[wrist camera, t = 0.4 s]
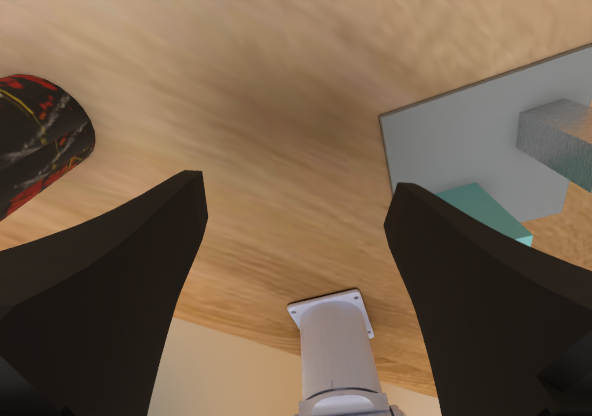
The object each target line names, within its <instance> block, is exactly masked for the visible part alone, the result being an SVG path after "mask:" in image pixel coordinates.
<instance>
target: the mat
mask: <svg viewBox="0 0 592 416" xmlns="http://www.w3.org/2000/svg"><path fill="white" fill-rule="evenodd" d="M564 98H565V99H568V100H571V101H574V102H577V103H580V104H583V105H586V106H590V103H591V99H592V43H591V44H588V45H585V46H582V47H580V48H577V49H574V50H571V51H568V52H565V53H562V54H559V55H556V56H553V57H550V58H547V59H544V60H541V61H538V62H535V63H533V64H530V65H527V66H524V67H521V68H518V69H515V70H512V71H509V72H506V73H503V74H500V75H497V76H494V77H491V78H489V79H486V80H483V81H480V82H477V83H474V84H471V85H468V86H465V87H462V88H459V89H456V90H453V91H450V92H447V93H445V94H442V95H439V96H436V97H433V98H430V99H427V100H424V101H421V102H418V103H415V104H412V105H409V106H406V107H403V108H400V109H398V110H395V111H392V112H389V113H386V114H383V115H380V116H379V119H380V125H381V131H382V137H383V142H384V148H385V154H386V160H387V165H388V171H389V177H390V183H391V189H392V194H393V195H394V192H395V189H396V186H397V183H398V182H404V183H415V184H417V185H419V186H421V187H423V188H425V189H426V190H428V191H430V192H432V193H433V194H436V193H440V192H444V191H447V190H451V189H454V188H458V187H461V186H465V185H468V184H472V183H477V184H478V185H479V186H480V187H481V188H482V189H484V190H485V191H486V192H487V193H488V194H489V195H490V196H491V197H492V198H493V199H494V200H495V201H497V202H498V203H499V204H500V205H501V206H502V207H503V208H504V209H505V210H506V211H507V212H508V213H510V214H511V215H512V216H513V217H514V218H515V219H516V220H517V221H518V222H519V223H521V222H525V221H529V220H533V219H537V218H541V217H545V216H549V215H553V214H557V213H561V211H562V208H563V204H564V200H565V197H566V193H567V189H568V185H569V182H570V180H569V179H567V178H565V177H564V176H562V175H560V174H559V173H557V172H555V171H554V170H552V169H550V168H549V167H547V166H546V165H544V164H542V163H541V162H539V161H537V160H536V159H534V158H532V157H531V156H529V155H527V154H526V153H524V152H522V151H521V150H519V149H518V148H516V140H517V132H518V124H519V116H520V112H522V111H525V110H529V109H532V108H535V107H538V106H541V105H545V104H548V103H551V102H554V101H557V100H560V99H564Z"/></svg>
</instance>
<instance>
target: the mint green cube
mask: <svg viewBox="0 0 592 416" xmlns="http://www.w3.org/2000/svg"><path fill="white" fill-rule="evenodd" d="M435 195H436V196H438V197H440V198H441V199H443V200H445V201H446V202H448V203H449V204H451V205H453V206H454V207H456V208H458V209H459V210H461V211H463V212H464V213H466V214H468V215H469V216H471V217H473V218H475V219H476V220H478V221H480V222H482V223H484V224H485V225H487V226H489V227H491V228H493V229H494V230H496V231H498V232H500V233H502V234H504V235H506V236H508V237H511V238H513V239H515V240H517V241H519V242H521V243H523V244H525V245H527V246H530V247H531V242H532V238H533V235H532V234H531V233H530V232H529V231H528V230H527V229H526V228H525V227H524V226H523V225H521V224H520V223H519V222H518V221H517V220H516V219H515V218H514V217H513V216H512V215H511V214H510V213H508V212H507V211H506V210H505V209H504V208H503V207H502V206H501V205H500V204H499V203H498V202H497V201H495V200H494V199H493V198H492V197H491V196H490V195H489V194H488V193H487V192H486V191H485V190H484V189H482V188H481V187H480V186H479V185H478V184H477V183H472V184H468V185H465V186H461V187H458V188H454V189H451V190H447V191H444V192H440V193H436V194H435Z"/></svg>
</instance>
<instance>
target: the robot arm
mask: <svg viewBox="0 0 592 416" xmlns="http://www.w3.org/2000/svg"><path fill="white" fill-rule="evenodd" d="M207 220H208V212H207V204H206V197H205V189H204V182H203V174H202V171H191V170H184V171H182V172H180V173H178V174H176V175H174V176H172V177H171V178H169V179H167V180H166V181H164V182H162V183H161V184H159V185H157V186H155V187H154V188H152V189H150V190H149V191H147V192H145V193H143V194H142V195H140V196H138V197H136V198H134V199H132V200H130V201H128V202H126V203H125V204H123V205H121V206H119V207H117V208H115V209H113V210H111V211H109V212H107V213H105V214H102V215H100V216H98V217H96V218H93V219H91V220H89V221H86V222H84V223H82V224H79V225H77V226H74V227H71V228H69V229H66V230H63V231H60V232H57V233H55V234H52V235H49V236H46V237H43V238H41V239H38V240H35V241H32V242H29V243H26V244H22V245H19V246H16V247H13V248H9V249H6V250H3V251H0V416H147V413H148V409H149V404H150V399H151V395H152V391H153V387H154V383H155V379H156V375H157V371H158V367H159V363H160V359H161V355H162V352H163V348H164V345H165V341H166V337H167V334H168V330H169V326H170V323H171V320H172V317H173V313H174V310H175V307H176V303H177V300H178V298H179V295H180V292H181V289H182V287H183V285H184V282H185V280H186V278H187V275H188V273H189V271H190V268H191V266H192V263H193V261H194V259H195V256H196V254H197V252H198V249H199V247H200V244H201V242H202V239H203V236H204V232H205V228H206V224H207ZM384 229H385V233H386V237H387V241H388V245H389V248H390V250H391V253H392V255H393V258H394V260H395V263H396V265H397V267H398V270H399V272H400V274H401V277H402V279H403V281H404V284H405V286H406V288H407V291H408V293H409V295H410V298H411V300H412V303H413V306H414V308H415V312H416V315H417V318H418V321H419V325H420V328H421V331H422V335H423V338H424V342H425V346H426V350H427V353H428V357H429V361H430V365H431V369H432V373H433V377H434V382H435V386H436V390H437V394H438V399H439V404H440V408H441V414H442V416H592V271H590V270H587V269H584V268H582V267H579V266H576V265H573V264H571V263H568V262H566V261H563V260H561V259H558V258H556V257H553V256H551V255H548V254H546V253H543V252H541V251H539V250H536V249H534V248H532V247H530V246H527V245H525V244H523V243H521V242H519V241H517V240H515V239H513V238H511V237H508V236H506V235H504V234H502V233H500V232H498V231H496V230H494V229H493V228H491V227H489V226H487V225H485V224H484V223H482V222H480V221H478V220H476V219H475V218H473V217H471V216H469V215H468V214H466V213H464V212H463V211H461V210H459V209H458V208H456V207H454V206H453V205H451V204H449V203H448V202H446V201H445V200H443V199H441V198H440V197H438V196H436V195H435V194H433V193H432V192H430V191H428V190H426V189H425V188H423V187H421V186H419V185H417V184H415V183H404V182H398V183H397V186H396V189H395V192H394V195H393V198H392V201H391V204H390V207H389V210H388V213H387V216H386V219H385V222H384ZM287 310H288V312H289V313H290V315H291V317H292V318H293V320H294V321H295V323H296V325H297V326H298V328H299V329H300V338H301V365H302V392H303V401H299V414H294V415H292V416H406V415H405V413H403V411H401V410H400V409H399V408H398V406H397V405H390V406H389V404H388V400H387V396H386V393H382V390H381V386H380V381H379V377H378V373H377V369H376V365H375V361H374V357H373V353H372V349H371V345H370V341H369V339H370V338H373V337H374V333H373V330H372V327H371V324H370V321H369V318H368V315H367V312H366V309H365V306H364V303H363V300H362V298H361V295H360V292H359V290H357V289H354V290H349V291H345V292H341V293H337V294H332V295H328V296H324V297H319V298H315V299H311V300H307V301H302V302H298V303H294V304H290V305H288V307H287Z"/></svg>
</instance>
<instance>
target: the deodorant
mask: <svg viewBox="0 0 592 416" xmlns="http://www.w3.org/2000/svg"><path fill="white" fill-rule="evenodd" d="M94 144H95V134H94V129H93V126H92V124H91V121H90V119H89V117H88V116H87V114H86V113H85V111H84V110H83V108H82V107H81V106H80V105H79V104H78V103H77V102H76V101H75V99H74V98H73V97H71V96H70V95H69V94H68V93H66V92H65V91H64V90H62V89H61V88H60V87H58V86H56V85H54V84H52V83H51V82H49V81H47V80H45V79H41V78H38V77H35V76H32V75H20V74H17V75H12V76H8V77H4V78H0V222H1V221H2V220H3V219H5V218H6V217H7V216H9V215H10V214H12V213H13V212H14V211H16V210H17V209H18V208H20V207H21V206H22V205H24V204H25V203H26V202H28V201H29V200H31V199H32V198H33V197H35V196H36V195H37V194H39V193H40V192H41V191H43V190H44V189H45V188H47V187H48V186H49V185H51V184H52V183H54V182H55V181H56V180H58V179H59V178H60V177H62V176H63V175H64V174H66V173H67V172H68V171H70V170H71V169H73V168H74V167H75V166H77V165H78V164H79V163H81V162H82V161H83V160H85V159H86V158H87V157H88V156H89V155H90V154H91V152H92V151H93V148H94Z"/></svg>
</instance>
